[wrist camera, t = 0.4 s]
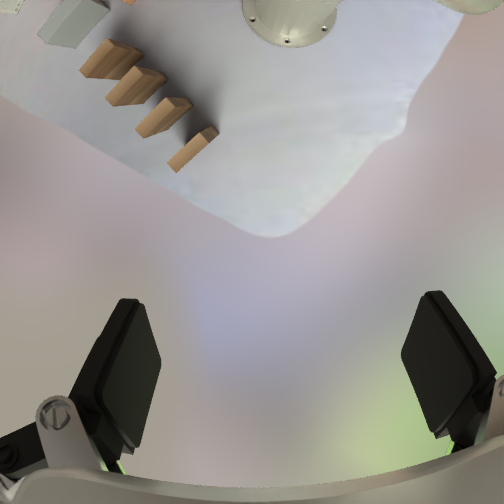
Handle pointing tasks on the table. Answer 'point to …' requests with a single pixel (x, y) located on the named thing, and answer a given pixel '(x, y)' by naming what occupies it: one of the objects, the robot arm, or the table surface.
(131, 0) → the domino end
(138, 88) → the domino
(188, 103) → the domino
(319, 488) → the robot arm
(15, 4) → the skincare box
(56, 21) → the block
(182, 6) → the table surface
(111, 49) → the domino
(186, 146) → the domino
